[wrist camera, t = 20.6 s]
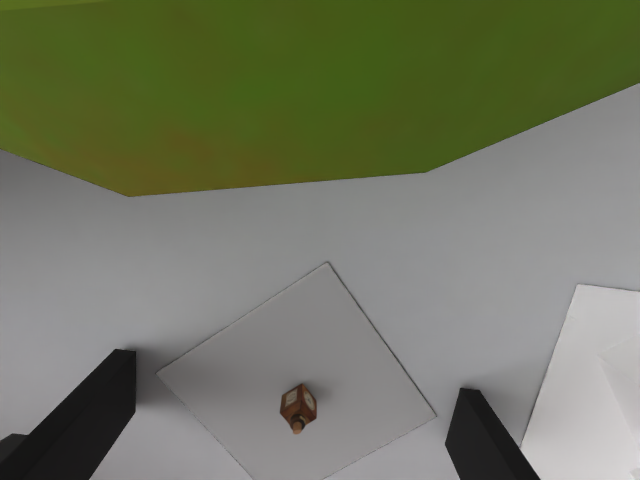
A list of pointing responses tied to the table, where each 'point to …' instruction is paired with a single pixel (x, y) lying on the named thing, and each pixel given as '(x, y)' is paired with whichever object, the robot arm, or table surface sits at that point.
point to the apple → (294, 84)
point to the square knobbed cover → (299, 384)
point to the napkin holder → (590, 392)
